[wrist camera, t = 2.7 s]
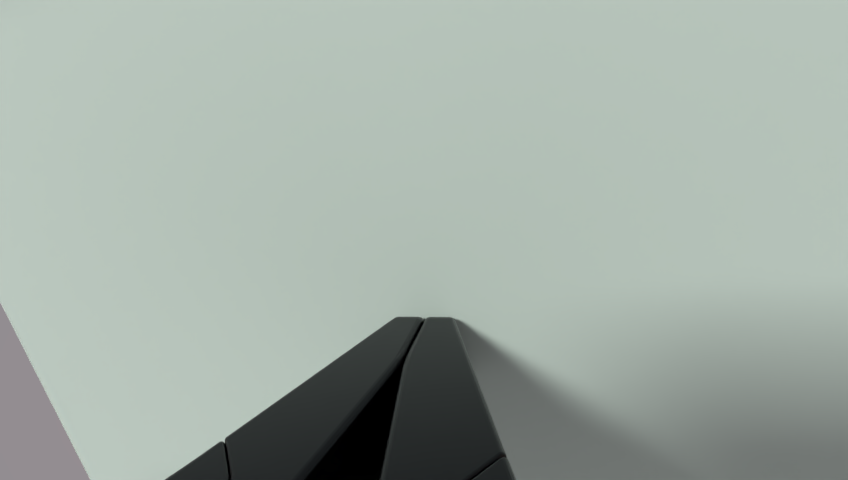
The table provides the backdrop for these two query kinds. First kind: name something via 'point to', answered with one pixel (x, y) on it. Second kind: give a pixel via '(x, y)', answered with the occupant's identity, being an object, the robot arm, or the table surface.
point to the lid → (437, 219)
